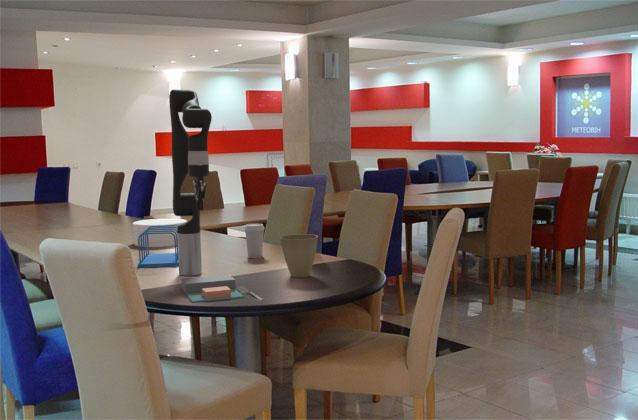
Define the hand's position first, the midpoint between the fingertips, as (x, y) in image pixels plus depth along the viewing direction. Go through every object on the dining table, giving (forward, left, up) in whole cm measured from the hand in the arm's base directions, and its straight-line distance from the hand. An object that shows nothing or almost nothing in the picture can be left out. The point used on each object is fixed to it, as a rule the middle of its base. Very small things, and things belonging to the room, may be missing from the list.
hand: (200, 210), depth 258 cm
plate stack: (-117, 0, -29) cm, 121 cm away
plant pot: (-4, +40, -29) cm, 50 cm away
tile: (+19, +1, -27) cm, 33 cm away
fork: (+22, +14, -30) cm, 39 cm away
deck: (+6, +1, -29) cm, 30 cm away
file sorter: (-59, -7, -29) cm, 66 cm away
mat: (+17, +1, -29) cm, 34 cm away
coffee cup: (-54, +35, -29) cm, 71 cm away
